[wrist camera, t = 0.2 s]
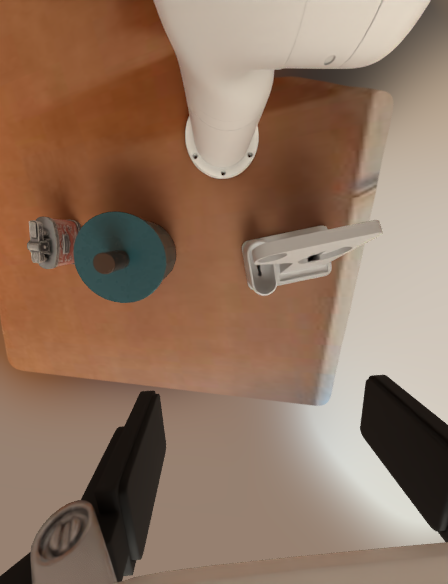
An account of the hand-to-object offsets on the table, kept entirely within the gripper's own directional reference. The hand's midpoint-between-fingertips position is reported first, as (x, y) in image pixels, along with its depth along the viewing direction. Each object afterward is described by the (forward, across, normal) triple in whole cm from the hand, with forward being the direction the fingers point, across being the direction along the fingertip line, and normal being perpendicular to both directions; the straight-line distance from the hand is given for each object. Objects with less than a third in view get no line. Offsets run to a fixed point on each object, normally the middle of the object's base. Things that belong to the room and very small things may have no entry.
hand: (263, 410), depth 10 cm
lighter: (+37, +28, -8) cm, 47 cm away
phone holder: (+37, -12, -3) cm, 39 cm away
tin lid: (+25, +15, -5) cm, 30 cm away
